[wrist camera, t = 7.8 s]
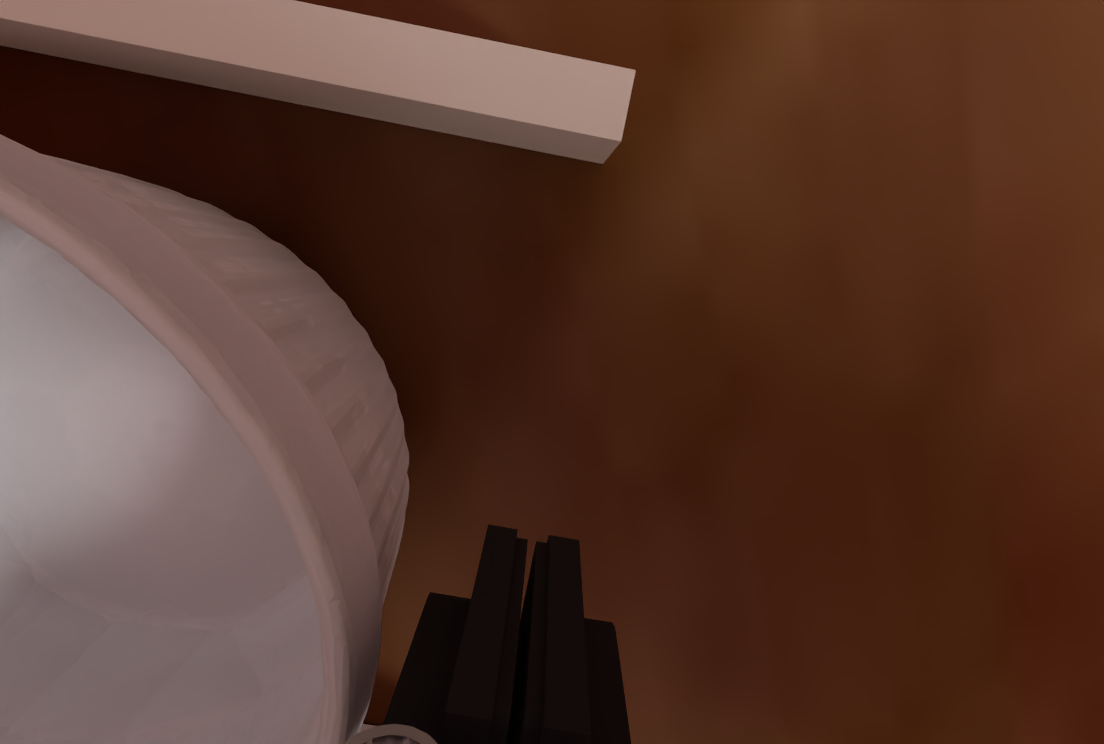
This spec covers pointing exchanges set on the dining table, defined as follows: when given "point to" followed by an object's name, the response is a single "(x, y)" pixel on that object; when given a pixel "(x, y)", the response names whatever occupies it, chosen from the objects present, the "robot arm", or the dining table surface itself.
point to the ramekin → (182, 473)
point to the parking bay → (343, 67)
